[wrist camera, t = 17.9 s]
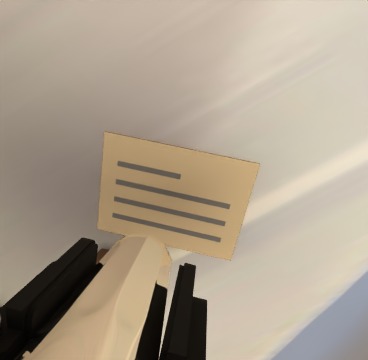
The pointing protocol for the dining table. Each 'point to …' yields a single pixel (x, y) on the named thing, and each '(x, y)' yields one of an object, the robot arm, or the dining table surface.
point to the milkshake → (110, 308)
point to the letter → (174, 194)
